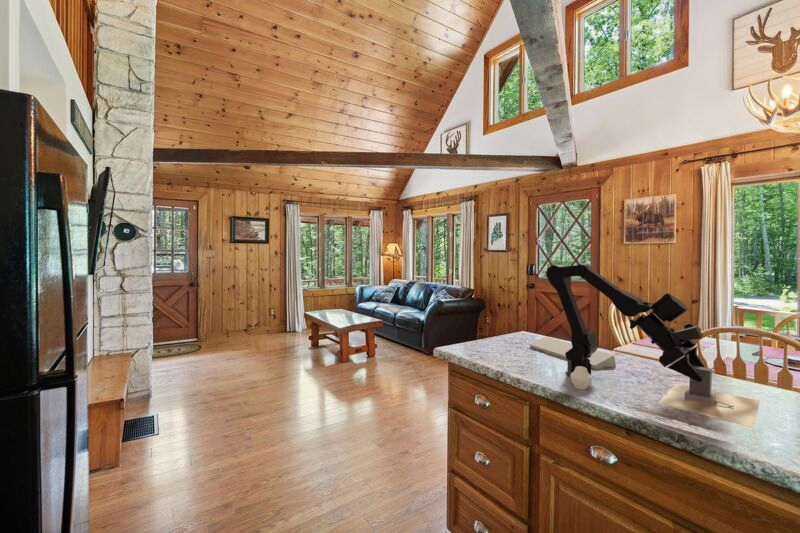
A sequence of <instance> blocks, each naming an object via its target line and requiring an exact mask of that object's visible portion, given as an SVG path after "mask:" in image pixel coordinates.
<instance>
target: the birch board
mask: <svg viewBox="0 0 800 533" xmlns="http://www.w3.org/2000/svg"><path fill="white" fill-rule="evenodd" d="M689 386H690V385H685V384H683V383H682V384H680V383H675V384H674V385H673V387H671V389H670V390H668V391H667V393H666V394H665V395H664V396H663V397H662V398H661V399H660V400H659V401H658V402H657V405H661V406H666V407H669V408H674V409H678V410H681V411H686V412H690V413H693V414H698V415H702V416H707V417H709V418H714V419H718V420H722V421H726V422H730V423H734V424H737V425H742V426H746V427H751V428H753V426H754V422H755V419H756V416H757V412H758V409H759V405H760V400H758V399H753V398H748V397H744V396H739V395H733V394H729V393H724V392H719V391H714V390H711V393H714V394H716V400H715V402H714V404H713V405H712V406H709V405H705V404H700V403H696V402H692V401H687V400H684V397H685V392H686V391H687V390H688V389H689Z"/></svg>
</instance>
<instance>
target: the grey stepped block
mask: <svg viewBox="0 0 800 533" xmlns="http://www.w3.org/2000/svg"><path fill="white" fill-rule="evenodd" d="M692 366H693V368H694V369H695V370H696V372H697V373H698V374H699V375H700V377H701V378H702V381H701V382H697V381H695V380H693V379H691V378H689V385H688V386H689V389H688V390H687V391H686V392H685V397H684V400H687V401H692V402H696V403H700V404H705V405H709V406H712V405H713V404H714V402H715V400H716V394H714V393H711V391H712V386H713V384H712V383H713V382H712V381H713V379H712V378H713V368H710V367H699V366H694V365H692Z"/></svg>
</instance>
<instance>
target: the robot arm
mask: <svg viewBox="0 0 800 533" xmlns="http://www.w3.org/2000/svg"><path fill="white" fill-rule="evenodd" d="M578 276H579V277H580V278H581V279H583V280H584V281H585V282H587V283H588V284H590V285H591V286H592V287H594V288H595V289H597V291H599V292H600V293H601V294H603V295H604V296H605V297H606V298H608V299H609V300H610V301H611V303H612V304H613V306H614V307H615V308H616V309H617V311H619V312H620V313H621V314H622V315H623V316H625V317H627V318H628V317H629V318H630V317H635V316H638V315H640V316H638V317H637V318H636V319H634V318H632V319H629V323H630V326H629V329H630V330H633V329H635V328H637V327H638V328H639V329H640V330H641V331H642V332H643V333H644V334H645V335H646V336H647V337H649V339H650V343H651V344H652V345H654V344H655V345H656V346H657V347H658V348H659V349H660V350H661V351H662V352H661V354H662V355H660V356H659V357H658V359H659V361H658V362H659V363H660V364H661V366H663V367H664V368H666V367H667V368H668V369H669V370H672V371H674V372H677V373H678V374H681V375H683V376H685V377H687V378H689V379H690V378H691V379H693V380H695V381H697V382H701V381H702V378H701V377H700V375H699V374H698V373H697V372H696V370H695V369H694V368H693V366H692V365H694V366H699V367H705V364H704V363H703V362H702V360H701V358H700V357H699V355H698V348H699V347H698V345H697V344H698V343H697V342H696V340H699V339H702V338H703V337H704V335H703V333H702V331H701V330H702V329H701V328H700V327H699V325H695V324H693V323H686V324H684V328H683V329H682V328H681V329H679V330H676V329H674V327H670V328H669V327H668V326H667V325H666V324H665V322H668V323H669V322H670V323H672V322H673V321H675V320H676V319H678V318H679V317H681V316H682V315H684V314H685V313H686V312H688V311H689V308H688V306H687V305H686V304H685V303H684V302H683V301H682V300H680V299H678V298H677V297H675V296H673V295H672V294H671V293H670V292H666V293H665V294H663V296H662V297H660V298H659V299H658V300H657V301H656V302H649V301H644V300H643V298H640V297H639V296H636V295H635V294H632V293H631V292H628V291H626V290H623V289H621V288H620V287H618V286H617V285H615V284H614V283H612V282H611V281H610V280H608V279H607V278H605V277H604V276H603V275H601V274H600V273H598V272H597V271H596V270H594V269H593V268H592V267H591V266H590V265H589V264H586V263H580V264H577V265H568V266H566V265H564V264H552V265H550V266H548V267H547V270H546V271H545V277H546V278H547V280H548V282H549V283H550V284H549V285H551V286H552V287H553V289H555V291H556V292H557V295H558V298H559V300H560V303H561V305H562V310H563V311H564V315H565V317H566V319H567V322H568V324H569V328H570V330H571V334H570V335H571V336H570V341H571V342H570V343H572V348H571V349H570V350H569V351H567V352H566V353H565V355H566V358H567V370H566V371H565V372H564V373H565V374H566V375H567V376H568V377H570V374H571V373H572V372H573V371H574V370H575V368H576V367H577V366H583V367H585V368H586V369H587V372H588V373H589V374H590V375H591V376H592V368H591V364H590V360H589V359H588V358H590V357H591V355H592V354H593V353H594V352H596V350H597V351H598V347H599V345H598V344H599V341H598V339H597V338H596V333H595V331H594V330H592V331H589V330H588V328H587V327H586V325H585V323H584V319H583V318H582V317H583V316H582V314H581V312H580V308H579V307H578V303H577V301H576V298H575V296H574V293H573V290H572V277H578ZM650 311H651V312H650ZM647 312H650V313H649V314H648V313H647ZM642 313H644V314H642ZM645 313H647V314H645ZM705 368H706V367H705Z"/></svg>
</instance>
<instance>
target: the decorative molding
mask: <svg viewBox="0 0 800 533" xmlns="http://www.w3.org/2000/svg"><path fill="white" fill-rule="evenodd" d="M529 347H530V348H531V347H533V348H532V349H534V348H535V349H534V350H537V349H538V350H537V351H540V350H541V351H540V352H543V351H544V352H543V353H545V352H546V353H547V354H548V353H549V355H551V354H552V355H551V356H554V355H555V357H557V358H561V359H563V360H566V359H567V358H566V355H565V353H566V352H567V351H569V350H570V349H571V348H572V343H571V342H567V341H564V340H560V339H557V338H554V337H549V336H546V335H545V336H544V337H541V338H540V339H538V340H535V341H533V342H531V343H529ZM588 359H589V360H590V364H591V369H593V370H603V369H606V368H614V367H617V365H616V358H615V355H613V354H610V353H607V352H603V351H600V350H598V349H597V350H596V352H594V353H593V354H592V355H591V357H590V358H588Z"/></svg>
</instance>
